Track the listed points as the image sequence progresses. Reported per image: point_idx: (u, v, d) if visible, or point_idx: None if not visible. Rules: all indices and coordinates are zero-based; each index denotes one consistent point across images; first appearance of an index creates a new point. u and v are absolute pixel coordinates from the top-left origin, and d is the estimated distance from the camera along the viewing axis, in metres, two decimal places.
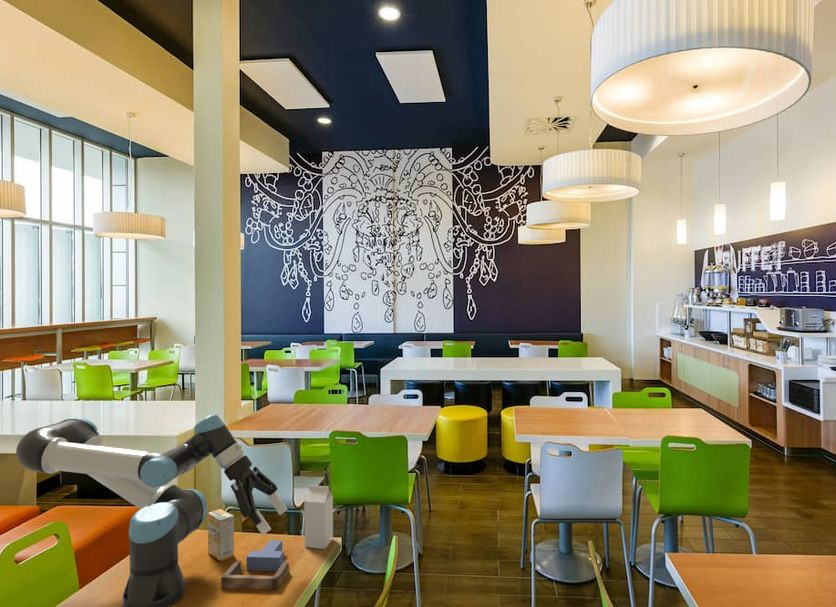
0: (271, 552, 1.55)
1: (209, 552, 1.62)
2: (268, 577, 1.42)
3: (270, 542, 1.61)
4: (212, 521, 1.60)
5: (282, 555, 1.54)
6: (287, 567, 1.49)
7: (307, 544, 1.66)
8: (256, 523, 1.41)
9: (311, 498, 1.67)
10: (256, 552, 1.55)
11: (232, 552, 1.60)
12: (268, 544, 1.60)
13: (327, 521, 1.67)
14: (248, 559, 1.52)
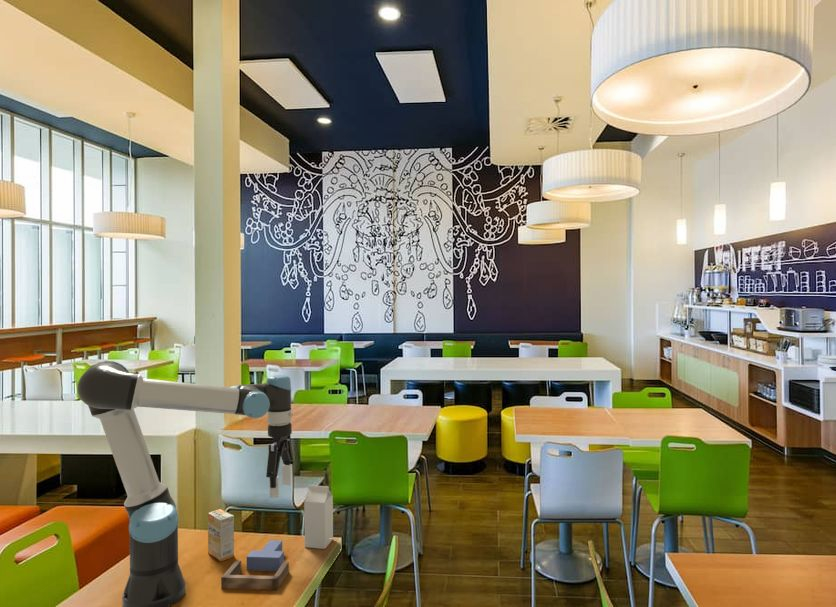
0: (271, 552, 1.55)
1: (209, 552, 1.62)
2: (268, 577, 1.42)
3: (270, 542, 1.61)
4: (212, 521, 1.60)
5: (282, 555, 1.54)
6: (287, 567, 1.49)
7: (307, 544, 1.66)
8: (271, 486, 1.60)
9: (311, 498, 1.67)
10: (256, 552, 1.55)
11: (232, 552, 1.60)
12: (268, 544, 1.60)
13: (327, 521, 1.67)
14: (248, 559, 1.52)
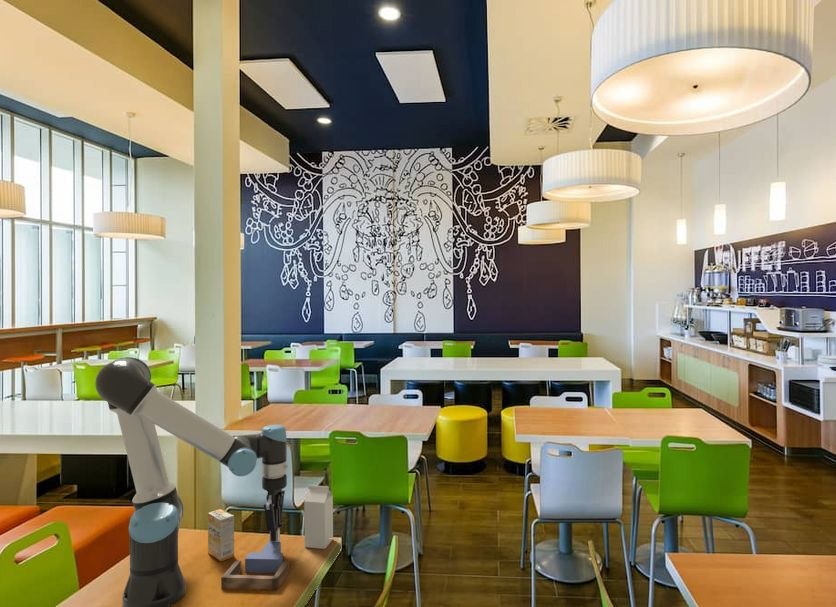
0: (270, 554, 1.53)
1: (209, 552, 1.62)
2: (268, 577, 1.42)
3: (268, 544, 1.60)
4: (212, 521, 1.60)
5: (281, 557, 1.53)
6: (287, 567, 1.49)
7: (307, 544, 1.66)
8: (272, 540, 1.60)
9: (311, 498, 1.67)
10: (255, 554, 1.54)
11: (232, 552, 1.60)
12: (266, 546, 1.59)
13: (327, 521, 1.67)
14: (247, 561, 1.51)
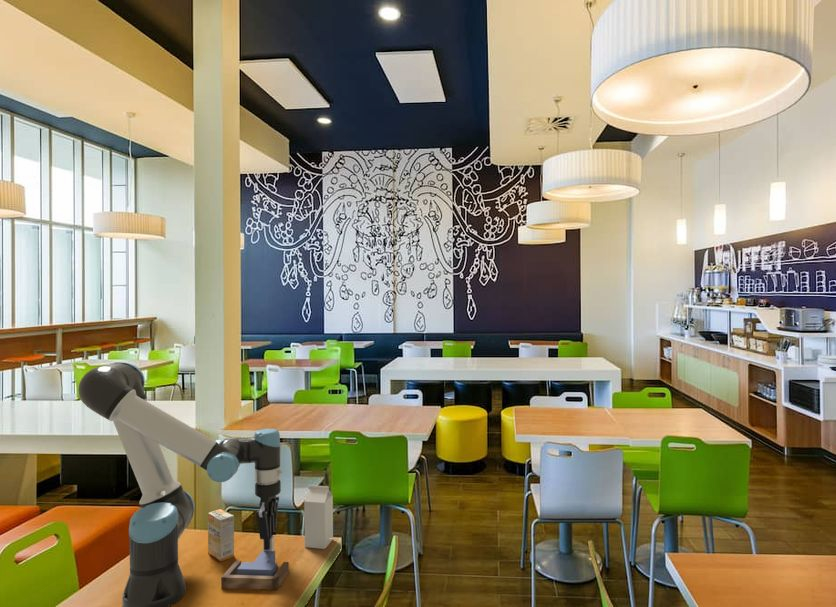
0: (263, 564, 1.47)
1: (209, 552, 1.62)
2: (268, 577, 1.42)
3: (262, 553, 1.54)
4: (212, 521, 1.60)
5: (275, 567, 1.47)
6: (287, 567, 1.49)
7: (307, 544, 1.66)
8: (265, 548, 1.55)
9: (311, 498, 1.67)
10: (247, 564, 1.48)
11: (232, 552, 1.60)
12: (260, 555, 1.53)
13: (327, 521, 1.67)
14: (239, 571, 1.45)
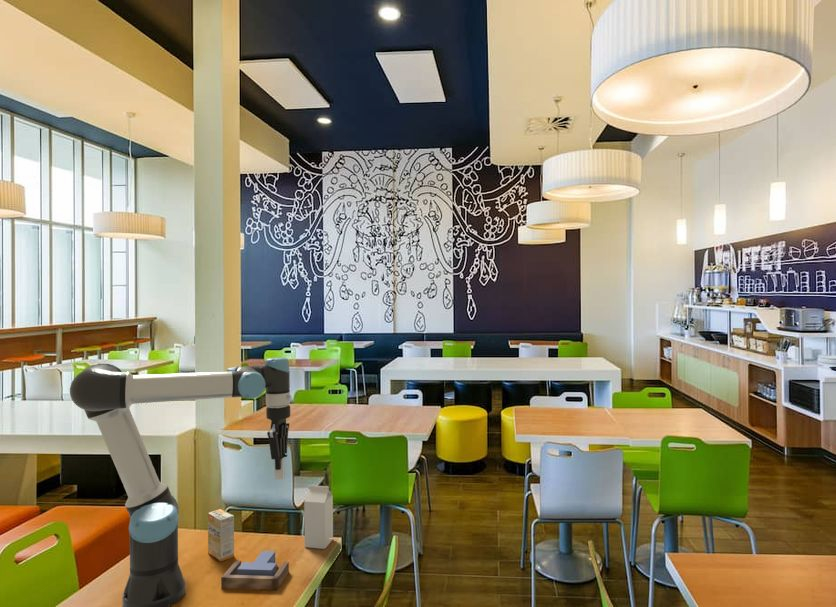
0: (263, 564, 1.47)
1: (209, 552, 1.62)
2: (268, 577, 1.42)
3: (262, 553, 1.54)
4: (212, 521, 1.60)
5: (275, 567, 1.47)
6: (287, 567, 1.49)
7: (307, 544, 1.66)
8: (276, 468, 1.64)
9: (311, 498, 1.67)
10: (247, 564, 1.48)
11: (232, 552, 1.60)
12: (260, 555, 1.53)
13: (327, 521, 1.67)
14: (239, 571, 1.45)
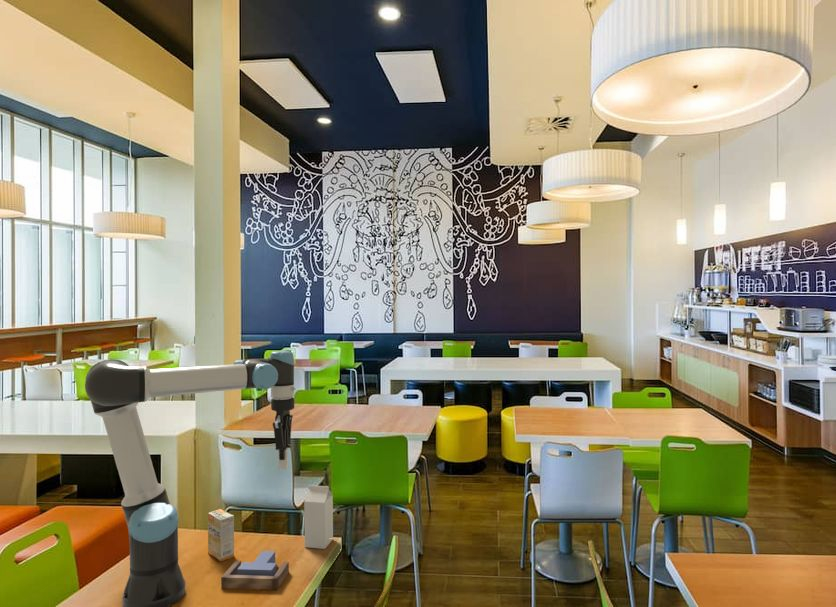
0: (263, 564, 1.47)
1: (209, 552, 1.62)
2: (268, 577, 1.42)
3: (262, 553, 1.54)
4: (212, 521, 1.60)
5: (275, 567, 1.47)
6: (287, 567, 1.49)
7: (307, 544, 1.66)
8: (280, 458, 1.69)
9: (311, 498, 1.67)
10: (247, 564, 1.48)
11: (232, 552, 1.60)
12: (260, 555, 1.53)
13: (327, 521, 1.67)
14: (239, 572, 1.45)
